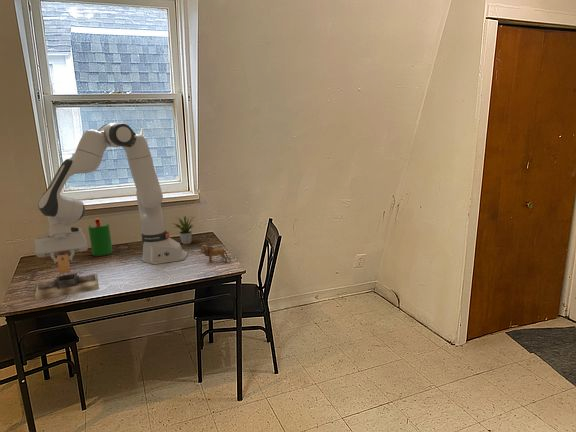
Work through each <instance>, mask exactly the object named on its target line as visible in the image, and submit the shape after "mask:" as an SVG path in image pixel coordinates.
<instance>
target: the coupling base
mask: <svg viewBox="0 0 576 432" xmlns="http://www.w3.org/2000/svg"><path fill="white" fill-rule="evenodd" d="M55 278H56V279H53V281H47V282H42V283H37V286H36V289H35V294H34V300H35V301H41V300H46V299H49V298H51V299H52V298H55V297H61V296H65V295H66V296H67V295H71V294H72V295H73V294H77V293H82V292H88V291H93V290H97V289H98V290H99V289H100V286H99V278H98V273H92V274H87V275H86V274H85V275H81V276H80V275H79V274H78V273H75V272H74V273H69V274H63V275H58V276H56V277H55Z"/></svg>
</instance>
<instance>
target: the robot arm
mask: <svg viewBox="0 0 576 432" xmlns="http://www.w3.org/2000/svg"><path fill="white" fill-rule="evenodd" d="M147 142H148V141H147V140H146V138H145V137H144V135H143V134H139V133H136V132H135V131H134V130H133V128H131V127H130V125H128V124H127V123H125V122H110V123H105V124H104V125H102V126H101V127H100V128H98V129H87V130H85V132H83V135H82V136H81V138H80V139H79V142H78V145H77V147H76V149H75V152H74V153H73V155H72V156H71V157H70V158H65V160H64V161H62V163H61V165H60V166H59V167H58V169H57V171H56V173H55V174H54V176H53V178H52V180H51V181H50V184H49V185H48V187H47V189H46V190H45V192H44V193H43V195H42V196H41V197H40V198H39V200H38V204H37V206H38V210H39V211H40V213H41V214H42V215H43V216H46V217H47V221H48V224H49V226H48V234H49V235H43V236H37V238H35V239H33V244H34V246H35V248H34V249H35V250H34V253H35V256H36V257H38V258H46V257H50V258H51V259H52V260H53V263H54V264H58V260H57V257H56V256H57V253H63V252H68V254H70V255H68V261H69V263H70V262H73V258H74V256H75V253H78V252H86V251H87V250H88V241H87V237H86V235H85V234H84V233H83V229H82V228H81V227H79V226H77V227H76V226H71V225H72V224H74V223H76V222H78V221H80V220H81V219H82V218H84V217H85V213H86V212H85V211H86V207H85V204H84V202H83V201H82V200H79V199H75V198H71V197H67V196H64V195H61V192H62V190H63V189H64V187H65V184H66V183H67V181H68V180H69V178H70V177H72V176H74V175H80V174H89V173H93V172H95V171H97V170H98V169H99V168H100V166H101V163H102V160H103V157H104V154H105V151H106V149H107V148H108V147H110V148H111V147H112V148H120V147H122V148H123V150H124V152H125V154H126V159H127V161H128V165H129V169H130V174H131V176H132V179H133V182H134V185H135V188H136V192H135V194H136V201H137V207H138V212H139V213H138V214H139V217H140V218H139V220H140V226H141V227H140V228H141V244H142V246H143V247H142V256H141V261H142V262H143V263H147V264H151V265H161V264H167V263H172V262H173V263H174V262H179V261H184V260H185V259H186V258H187V257H188V253H187V251H186V250H184V249H183V248H182V245H181V244H180V242H178V241H176V240H175V239H173V238H171V237H170V232H169V230H165V220H164V216H163V215H164V214H163V210H162V203H163V200H164V195H163V191H162V188H161V184H160V181H159V179H158V175H157V173H156V170H155V165H154V162H153V158H152V154H151V150H150V147H149V144H148V143H147Z"/></svg>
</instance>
